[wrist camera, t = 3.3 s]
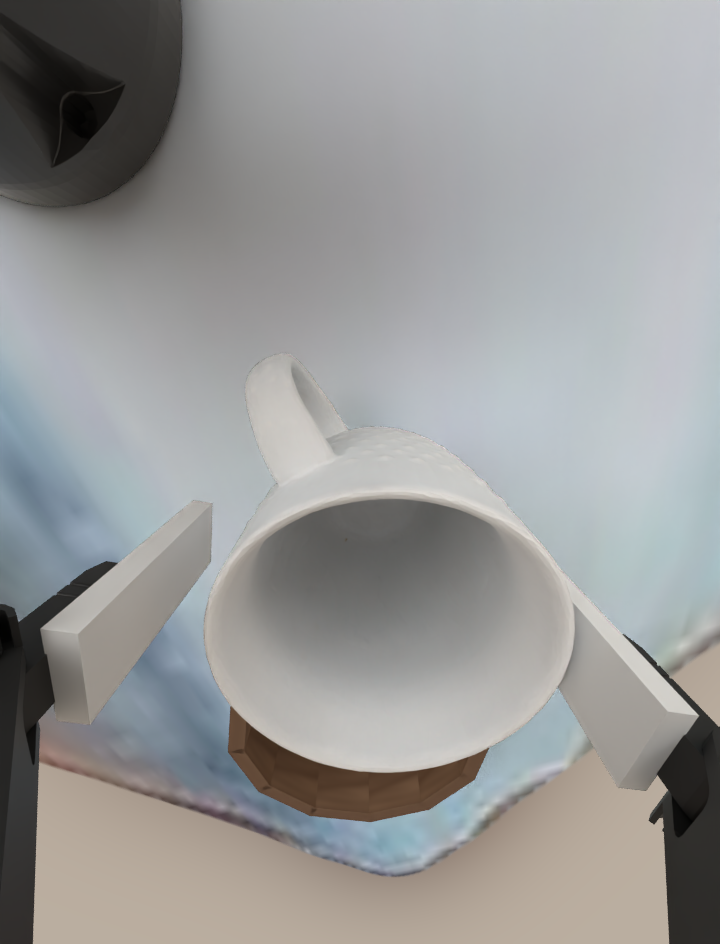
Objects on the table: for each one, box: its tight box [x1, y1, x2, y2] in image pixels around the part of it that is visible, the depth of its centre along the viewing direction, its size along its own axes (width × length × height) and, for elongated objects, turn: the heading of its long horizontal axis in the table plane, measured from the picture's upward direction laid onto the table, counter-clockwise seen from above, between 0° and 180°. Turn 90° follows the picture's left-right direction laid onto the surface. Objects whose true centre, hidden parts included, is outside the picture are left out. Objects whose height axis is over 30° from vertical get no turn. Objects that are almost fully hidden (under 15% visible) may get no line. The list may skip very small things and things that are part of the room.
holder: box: [228, 706, 489, 822], centre depth 27 cm, size 20×20×4 cm
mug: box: [204, 353, 575, 773], centre depth 15 cm, size 15×11×13 cm
